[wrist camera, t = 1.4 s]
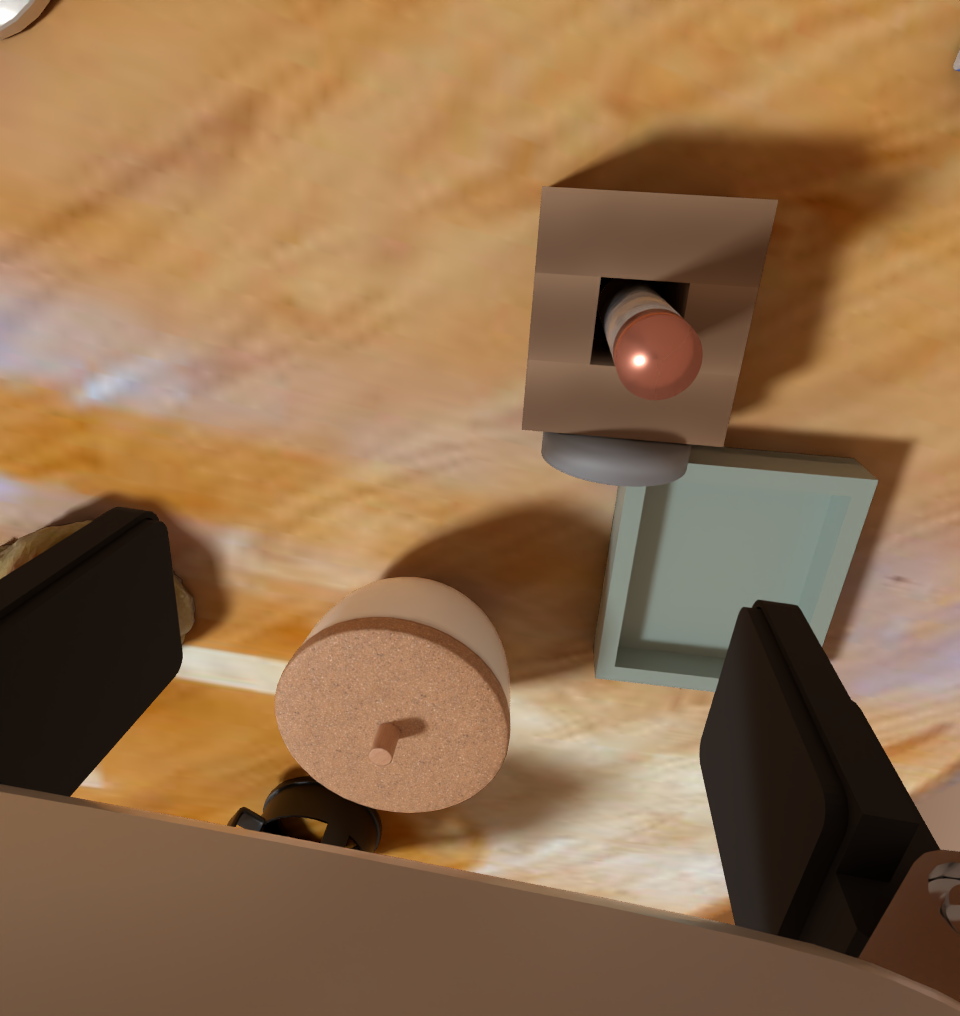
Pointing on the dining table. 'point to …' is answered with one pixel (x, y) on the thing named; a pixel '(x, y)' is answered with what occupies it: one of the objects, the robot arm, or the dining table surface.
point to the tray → (723, 558)
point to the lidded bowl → (399, 697)
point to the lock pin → (648, 340)
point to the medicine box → (957, 62)
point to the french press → (315, 814)
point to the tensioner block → (588, 362)
